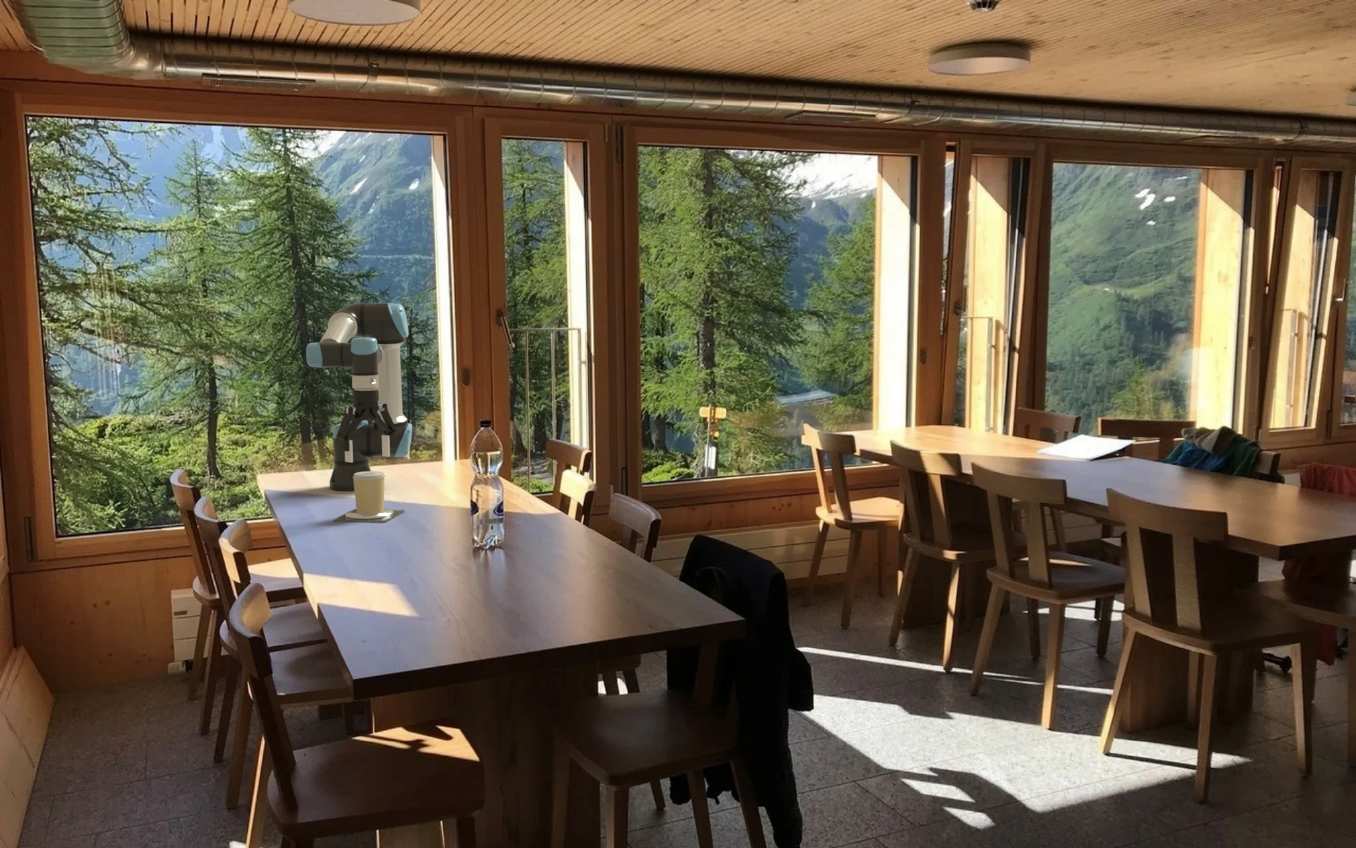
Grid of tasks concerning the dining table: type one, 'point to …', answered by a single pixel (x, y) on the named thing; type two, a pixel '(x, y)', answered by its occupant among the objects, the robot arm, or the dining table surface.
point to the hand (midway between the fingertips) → (367, 459)
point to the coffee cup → (369, 492)
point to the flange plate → (369, 516)
